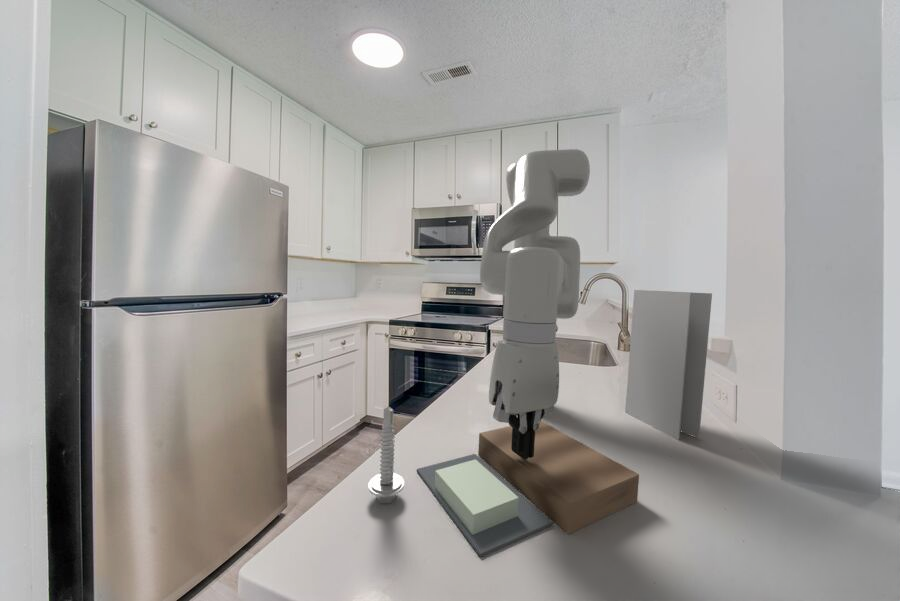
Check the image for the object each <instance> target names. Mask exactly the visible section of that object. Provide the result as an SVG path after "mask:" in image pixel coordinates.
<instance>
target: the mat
mask: <svg viewBox="0 0 900 601" xmlns="http://www.w3.org/2000/svg"><path fill="white" fill-rule="evenodd" d="M475 459H476V460H477V461H478V462H479V463H480V464H481V465H482V466H484V467H485V468H486V469H487V470H488V471H489V472H490V473H492V474H493V475H494V476H495V477H496V478H497V479H498V480H499V481H501V482H502V483H503V484H504V485H505V486H506V487H507V488H508V489H510V490H511V491H512V492H513V493H514V494H515V495H516V496H518V497H519V502H518V516H517V517H514V518H512V519H510V520H507V521H505V522H502V523H500V524H498V525H495V526H493V527H490V528H488V529H486V530H483V531H481V532H478V533H476V534H474V535H472V534H471V532H470V531H469V530H468V528H467V527H466V526H465V525H464V523H463V522H462V521H461V520H460V518H459V517H458V516H457V515H456V513H455V512H454V511H453V510H452V508H451V507H450V506H449V505H448V503H447V502H446V501H445V500H444V498H443V497H442V496H441V494H440V493H439V492H438V491H437V489H436V488H435V471H436V470H439V469H443V468H446V467H450V466H454V465H457V464H461V463H464V462H468V461H471V460H475ZM416 473H417V474H418V475H419V476H420V478H421V479H422V480H423V482H424V483H425V484H426V486H427V488H429V491H431V493H432V494H433V495H434V497H435V498H436V500H437V501H438V503H439V504H441V506H442V508H443V510H444V511H445V512H446V513H447V514H448V516H449V517H450V518H451V520H452V521H453V523H454V524H455V525H456V527H457V528H458V529H459V531H460V532H461V534H462V535H463V536H464V538H465V539H466V540H467V541H468V543H469V544H470V546H471V547H472V548H473V550H474V551H475V552H476V554H477V555H478V556H479V558H481V557H484V556H486V555H489V554H491V553H493V552H495V551H497V550H499V549H502V548H504V547H506V546H509V545H511V544H513V543H515V542H518V541H520V540H522V539H524V538H526V537H529V536H531V535H533V534H535V533H537V532H539V531H542V530H545V529H546V528H549V527H551V526H553V522H552V520H550V518H549V517H548V516H547V515H546V514H545V513H543V512H542V511H541V510H540V509H539V508H538V507H537V506H536V505H534V504H533V503H532V502H531V501H530V500H529V499H528V498H527V497H525V496H524V495H523V494H522V493H521V492H520V491H519V490H517V489H516V488H515V487H514V486H513V485H512V484H511V483H509V482H508V481H507V480H506V479H505V478H504V477H503V476H501V475H500V474H499V473H498V472H497V471H496V470H495V469H493V468H491V466H490V465H489V464H488V463H487V462H486V461H484V460H483V459H482V458H481V457H480V456H479V455H478V454H476V453H473V454H469V455H466V456H462V457H457V458H453V459H450V460H446V461H442V462H439V463H433V464H432V465H431V464H430V465H427V466H424V467H423V466H422V467H420V468H419V467H418V468H416Z"/></svg>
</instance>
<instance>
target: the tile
mask: <svg viewBox="0 0 900 601" xmlns="http://www.w3.org/2000/svg"><path fill="white" fill-rule="evenodd" d="M435 488H436V489H437V491H438V492H439V493H440V494H441V496H442V497H443V498H444V500H445V501H446V502H447V503H448V505H449V506H450V507H451V508H452V510H453V511H454V512H455V513H456V515H457V516H458V517H459V518H460V520H461V521H462V522H463V523H464V525H465V526H466V527H467V528H468V530H469V531H470V532H471V534H472V535H474V534H476V533H478V532H481V531H483V530H486V529H488V528H490V527H493V526H495V525H498V524H500V523H502V522H505V521H507V520H510V519H512V518H514V517H517V516H518V502H519V497H518V496H516V495H515V494H514V493H513V492H512V491H511V490H510V489H508V488H507V487H506V486H505V485H504V484H503V483H502V482H501V481H499V480H498V479H497V478H496V477H495V476H494V475H493V474H492V473H490V472H489V471H488V470H487V469H486V468H485V467H484V466H482V465H481V464H480V463H479V462H478V461H477V460H476V459H475V460H471V461H468V462H464V463H461V464H457V465H454V466H450V467H446V468H443V469H439V470H436V471H435Z"/></svg>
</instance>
